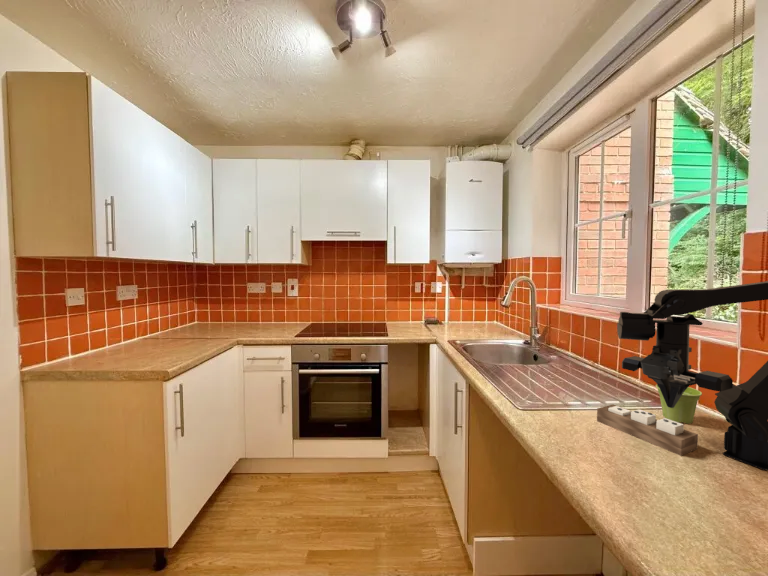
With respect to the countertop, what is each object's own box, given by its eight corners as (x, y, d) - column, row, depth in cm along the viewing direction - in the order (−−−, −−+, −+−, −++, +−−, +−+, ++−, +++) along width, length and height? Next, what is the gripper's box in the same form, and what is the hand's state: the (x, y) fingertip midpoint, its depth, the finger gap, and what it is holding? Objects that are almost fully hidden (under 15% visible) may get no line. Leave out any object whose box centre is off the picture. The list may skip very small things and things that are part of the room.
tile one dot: (630, 419, 83) (631, 410, 83) (622, 422, 82) (622, 412, 82) (616, 414, 86) (616, 405, 86) (608, 416, 85) (608, 407, 85)
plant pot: (690, 430, 81) (691, 397, 81) (648, 415, 90) (648, 386, 89) (708, 423, 85) (709, 392, 85) (665, 409, 93) (666, 381, 93)
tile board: (697, 448, 72) (697, 434, 72) (681, 455, 69) (681, 440, 69) (612, 416, 89) (613, 404, 89) (596, 420, 86) (597, 408, 86)
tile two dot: (683, 434, 73) (683, 423, 73) (674, 437, 72) (675, 426, 71) (664, 427, 76) (664, 417, 76) (656, 430, 75) (656, 419, 75)
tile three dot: (655, 424, 78) (655, 414, 78) (647, 426, 77) (647, 416, 77) (639, 418, 81) (639, 408, 81) (630, 420, 80) (631, 410, 80)
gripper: (608, 338, 79) (607, 398, 79) (708, 354, 62) (706, 431, 62) (635, 334, 83) (634, 392, 84) (734, 349, 66) (732, 421, 66)
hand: (670, 407), depth 74 cm, fingers closed
